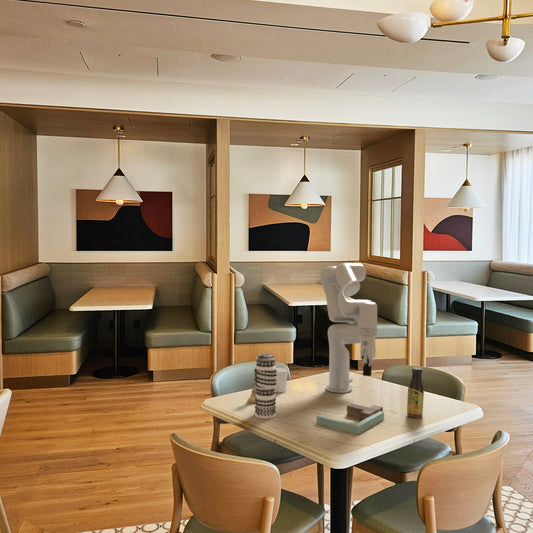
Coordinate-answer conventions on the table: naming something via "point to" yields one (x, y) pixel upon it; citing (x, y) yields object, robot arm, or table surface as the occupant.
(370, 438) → the table surface
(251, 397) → the hand bell
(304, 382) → the table surface
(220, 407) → the table surface
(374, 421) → the corner fence
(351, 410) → the t block
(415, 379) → the sauce bottle
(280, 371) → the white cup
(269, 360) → the patterned stacked cylinder
